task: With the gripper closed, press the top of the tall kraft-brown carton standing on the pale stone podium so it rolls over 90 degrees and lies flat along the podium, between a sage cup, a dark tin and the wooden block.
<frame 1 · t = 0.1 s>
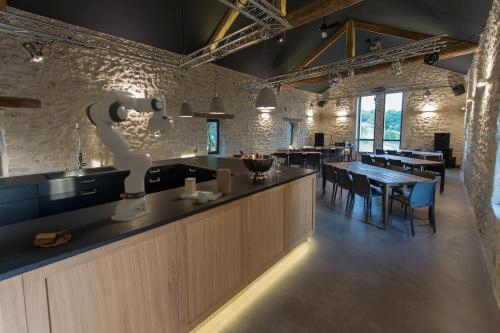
hand: (161, 136, 182), 48 cm above the counter, fingers open, 8 cm apart
podium: (202, 196, 198), on the counter
carton: (190, 193, 201), point 2 cm above the counter, touching podium
cup: (202, 201, 184), on the counter
toy sandwich meal: (53, 243, 117), on the counter
wooden block: (224, 193, 209), on the counter
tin: (216, 193, 200), point 2 cm above the counter, touching podium
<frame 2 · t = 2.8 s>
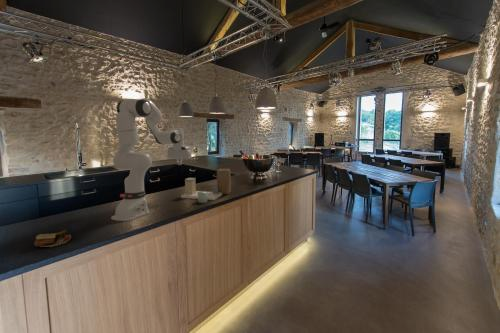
hand: (179, 164, 200), 25 cm above the counter, fingers closed
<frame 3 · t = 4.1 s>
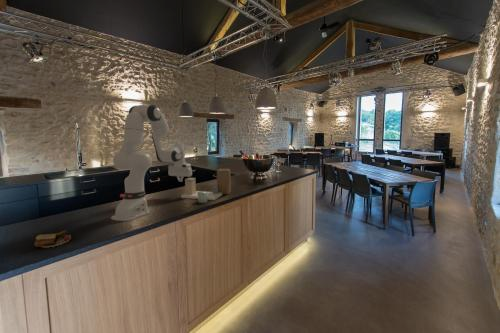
hand: (180, 181, 202), 11 cm above the counter, fingers closed
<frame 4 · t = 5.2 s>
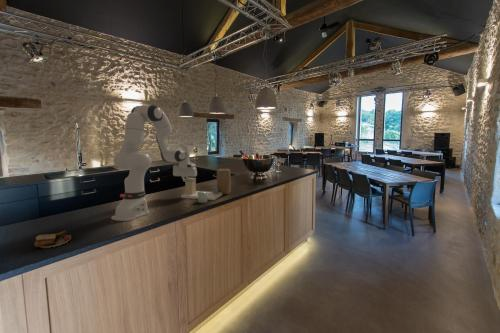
hand: (185, 181, 201), 11 cm above the counter, fingers closed
carton: (190, 193, 200), point 2 cm above the counter, touching gripper, podium
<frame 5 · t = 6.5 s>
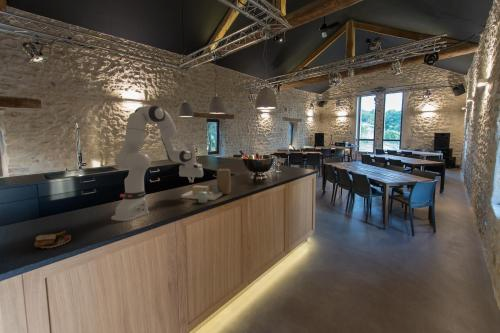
hand: (191, 182, 199), 11 cm above the counter, fingers closed
carton: (194, 189, 199), point 5 cm above the counter, tilted 90°, touching podium
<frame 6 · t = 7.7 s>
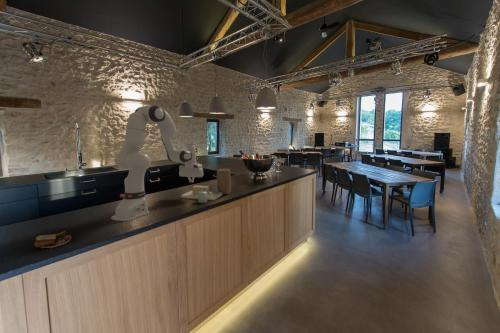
hand: (191, 182, 199), 11 cm above the counter, fingers closed
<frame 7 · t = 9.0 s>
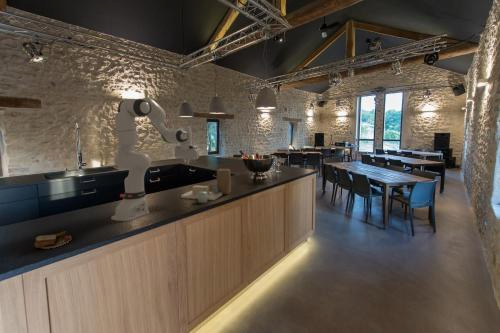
hand: (186, 163, 196), 26 cm above the counter, fingers closed
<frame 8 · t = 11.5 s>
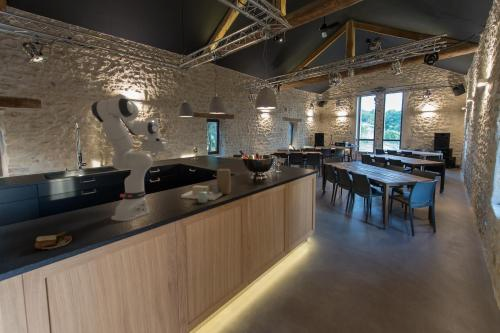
hand: (154, 157, 191), 32 cm above the counter, fingers closed
at the end: carton tilted 90°; carton inside the target area on the podium (8.8 cm from its centre), point 5.0 cm above the podium's base; carton touching podium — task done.
